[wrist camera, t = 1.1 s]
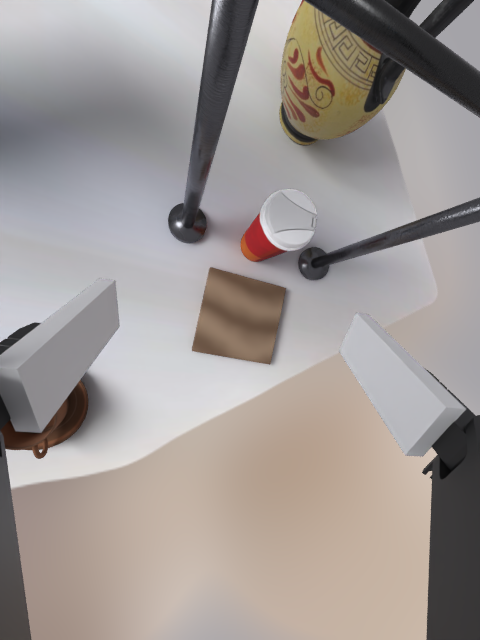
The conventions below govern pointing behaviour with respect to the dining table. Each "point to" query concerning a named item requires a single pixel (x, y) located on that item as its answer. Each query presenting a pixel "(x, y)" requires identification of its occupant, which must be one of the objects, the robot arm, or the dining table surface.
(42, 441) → the cup and saucer
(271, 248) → the paper cup
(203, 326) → the walnut board
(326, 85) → the amphora
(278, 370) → the dining table surface
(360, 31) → the frame
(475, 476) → the robot arm
